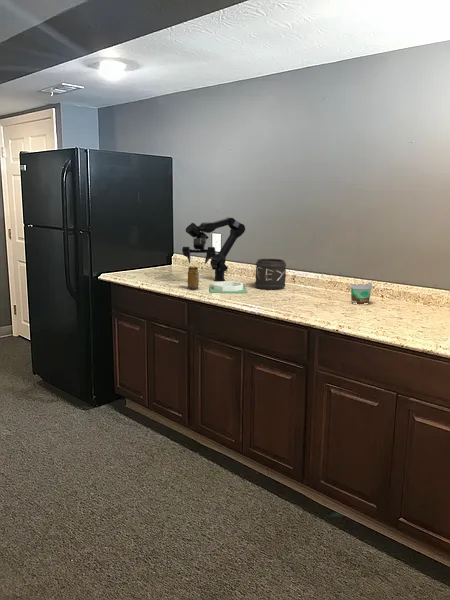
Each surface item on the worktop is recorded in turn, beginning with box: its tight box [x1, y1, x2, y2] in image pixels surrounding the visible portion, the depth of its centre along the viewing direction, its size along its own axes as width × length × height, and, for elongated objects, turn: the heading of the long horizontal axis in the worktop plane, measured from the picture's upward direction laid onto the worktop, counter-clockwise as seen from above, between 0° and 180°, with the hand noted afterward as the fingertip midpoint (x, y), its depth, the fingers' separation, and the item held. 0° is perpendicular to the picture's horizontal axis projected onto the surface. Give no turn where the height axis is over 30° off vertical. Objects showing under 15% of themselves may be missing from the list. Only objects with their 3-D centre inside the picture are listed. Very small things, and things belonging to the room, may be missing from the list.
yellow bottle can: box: [185, 266, 203, 291], centre depth 287 cm, size 7×8×12 cm
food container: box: [349, 282, 374, 304], centre depth 254 cm, size 12×6×10 cm, turn 117°
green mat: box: [209, 284, 248, 294], centre depth 288 cm, size 22×20×1 cm
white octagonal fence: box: [213, 281, 244, 291], centre depth 288 cm, size 16×16×2 cm
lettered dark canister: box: [254, 258, 287, 291], centre depth 293 cm, size 18×18×16 cm
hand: (197, 263), depth 293 cm, fingers open, 9 cm apart
